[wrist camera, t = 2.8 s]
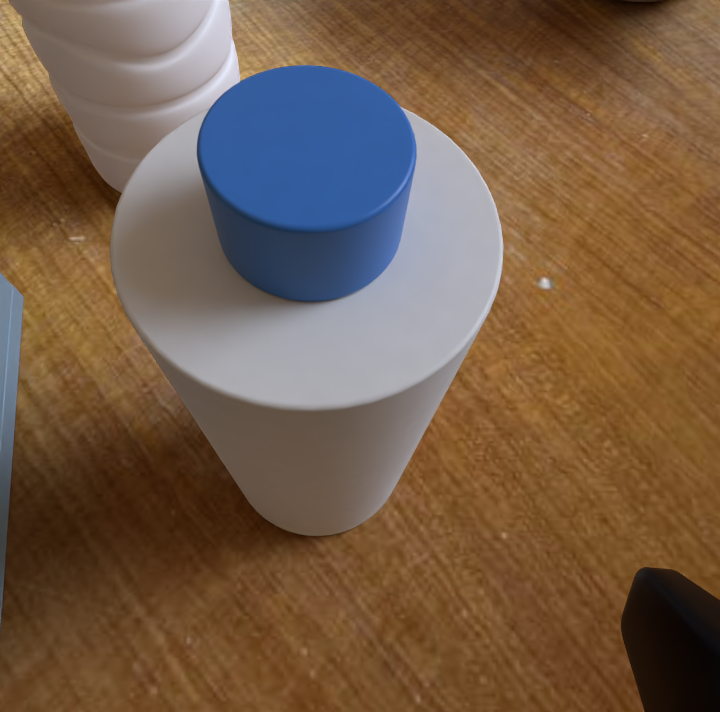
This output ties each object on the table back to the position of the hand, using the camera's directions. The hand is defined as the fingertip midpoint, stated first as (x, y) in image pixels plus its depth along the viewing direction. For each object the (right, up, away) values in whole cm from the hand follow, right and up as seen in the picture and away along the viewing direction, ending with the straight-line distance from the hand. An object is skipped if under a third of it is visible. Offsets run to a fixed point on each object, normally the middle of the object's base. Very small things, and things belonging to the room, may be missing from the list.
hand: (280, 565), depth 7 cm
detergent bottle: (0, -1, +12) cm, 12 cm away
